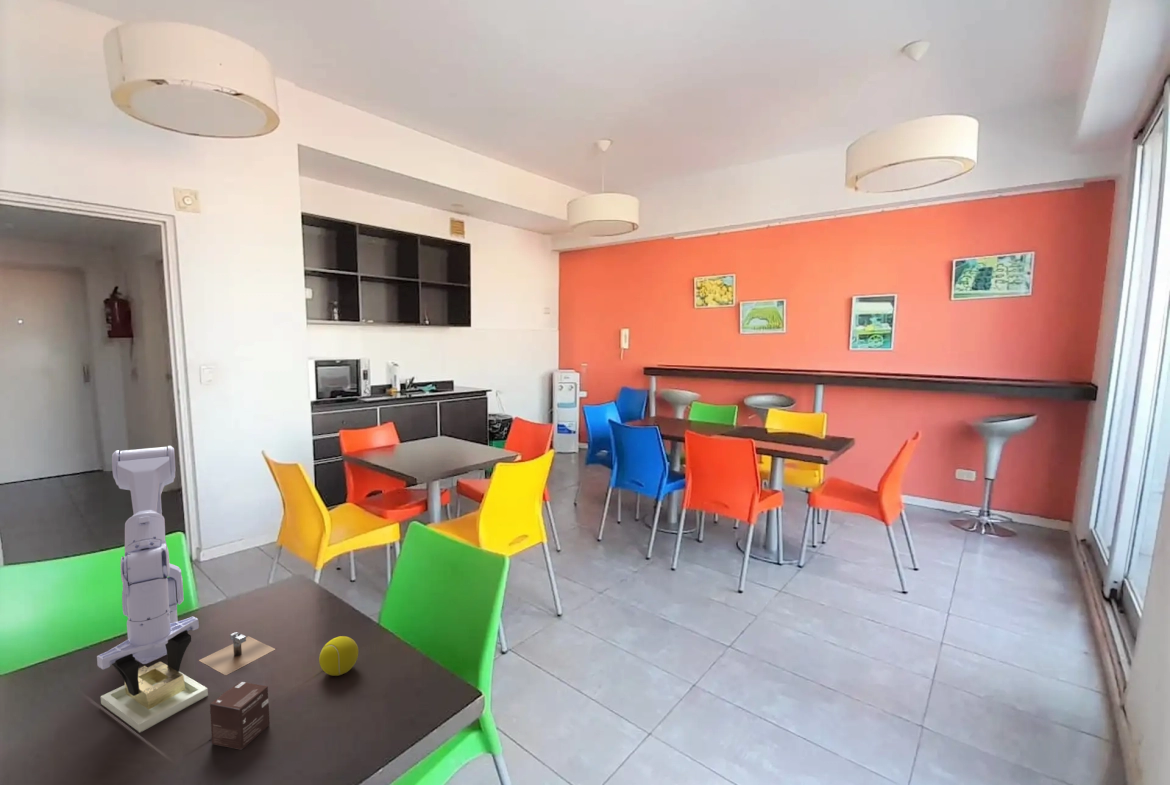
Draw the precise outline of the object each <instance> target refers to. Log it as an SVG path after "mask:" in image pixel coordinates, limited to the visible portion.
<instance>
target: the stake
mask: <svg viewBox="0 0 1170 785" xmlns="http://www.w3.org/2000/svg"><path fill="white" fill-rule="evenodd" d="M246 637H247V636H246V635H244V634H242V633H241V632H237V631H235V632H233V633H231V634H230V635H229V638H230V639H229V640H231V641H232V642H233V643H232V644H233V649H234V656H235V657H237V656H240V655H241V654H242V647H241V643H243V642H245V641H246Z"/></svg>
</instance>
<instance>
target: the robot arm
mask: <svg viewBox="0 0 1170 785" xmlns="http://www.w3.org/2000/svg"><path fill="white" fill-rule="evenodd" d="M175 455H176V454H175V448H174V447H173V446H172V445H167V446H161V447H160V446H159V447H146V448H138V449H136V448H135V449H125V450H119V449H118V450H115V451H114V452H113V453H112V455H111V468H112V469H111V470H112V477H113V479H114V481H115V484H116V486H118V489H120V490H127V491H130V496H131V497H130V499H131V505H132V511H133V515H131V516H130V517H129V518H127V520H126V521H125V523H124V556H123V555H122V556H121V558H120V566H119V567H120V578H121V582H122V590H121V594H122V595H121V600H122V601H121V605H122V614H123V616H125V617H127V620H126V632H127V639H126V640H125V641H122V642H120V644H117V645H116V646H114V647H112V648H111V649H108V650H107V651H105V652H102V653H100V654H98V655H96V662H97V667H98V668H99V669H101V670H106V669H108V668H110V667H111V666H113V668H114V669H115V670H116V671H117V672H118V673H119V675H120V676H121V677H122V680H123V681H125V683H126V685H127V688H128V691H129V693H130V694H132V695H133V696H135V695H137V694H138V692H139V683H138V669H139V668H140V664H142V665H147V664H150V663H151V662H153V661H156V660H158V659H160V658H162V657H165V656H167V658H166V659H167V665H168V666H169V667H171V668H172V669H174V670H176V671H178V672H180V668H181V664H182V660H183V658H184V655H185V653H186V651H187V648H188V647H189V645H190V643H191V642H192V635H191V634H189V633H188V632H189V631H195V630H198V629H199V628H200V625H199V624H200V623H199V618H197V617H195V616H190V617H188V618H185V619H182V620H178V605H181V604H182V603H183V602H184V584H183V583H184V582H183V575H182V569H181V568H180V567H179V566H177V565H175V564H173V563H170V550H169V548H168V545H167V540H166V523H165V522H166V521H165V516H164V515H163V514H162V513H163V510H162V492H163V490H164V488H165V487H166V486H168V485H170V484H172V483H174V482H175V478H176V470H177V469H176V456H175ZM125 683H124V684H125Z"/></svg>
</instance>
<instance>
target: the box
mask: <svg viewBox="0 0 1170 785" xmlns="http://www.w3.org/2000/svg"><path fill="white" fill-rule="evenodd" d="M269 706H270V704H269V686H268V685H262V684H257V683H250V682H245V681H239V682H238V683H236V684H235V685H234V686H232V687H230V688H229V689H228V690H225V691H224V692H223V693H222V694H221V695H219V696H218V697H217V698H216V699H215V700H213V701H212V702H210V704H209V712H210V727H211V728H210V730H211V744H212V745H214V746H219V747H227V748H231V749H236V750H243V749H244V748H246V747H247V746H248V745H249V744H250V743H251V742H253V741H254V740H255V739H256V738H257V737H258V736H259V735H260V734H262V733H263V731H265V729H267V728H268V727H269V726H270V723H271V722H270V721H271V720H270V707H269Z"/></svg>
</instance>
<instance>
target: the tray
mask: <svg viewBox="0 0 1170 785" xmlns="http://www.w3.org/2000/svg"><path fill="white" fill-rule="evenodd" d="M166 665H167V666H168V664H166ZM179 673H181V674H183V676H184V685H185V690H184V691H182V692H180V693H178V694H176V695H174V696H173V697H171V698H169V699H167V700H165V701H163V702H162V703H160V704H158V705H156V706H154V707H152V708H151V709H147V708H146V707H144V706H143V705H141V704H140V703H138V702H137V701H135V700H134V699H132V698H131V697H129V696H128V695H126V691H125V684H124V685H122V686H119V687H116V689H113V690H111V691H109V692H107V693H105V694H101V695H100V704H101V705H102V706H103V707H105V708H106V709H107V710H108V711H110V712H111V713H112V714H114V715H115V716H117V717H118V718H119V719H121V720H122V722H123V721H124V722H125V723H126V724H127V725H128V726H131V728H133V729H134V730H136V731H137V732H138V733H139V734H140V733H142V732H144V731H146V730H148V729H150V728H151V727H153V726H156V725H157V724H159V723H161V722H163V721H164V720H167V719H168V718H169V717H172V716H174V715H175V714H177V713H179V712H181V711H182V710H184V709H186V708H188V707H190V706H191V705H193V704H195V703H197V702H199V701H200V700H203V699H205V698H206V697H208V696H209V693H208V692H209V689H208V687H206V686H205V685H202V684H201V683H200V682H197V681H196V680H194V679H193V678H190V677H189V676H187V675H186V674H184V673H183V672H181V671H179ZM156 684H158V683H156ZM156 684H154V685H156ZM154 685H152V686H154Z"/></svg>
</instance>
